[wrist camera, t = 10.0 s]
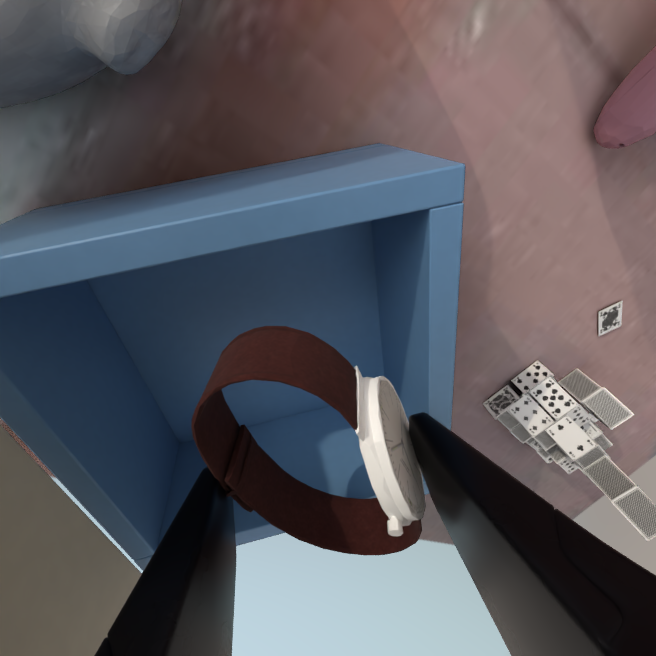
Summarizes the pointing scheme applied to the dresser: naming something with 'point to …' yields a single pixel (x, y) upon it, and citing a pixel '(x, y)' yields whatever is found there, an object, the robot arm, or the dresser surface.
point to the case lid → (53, 566)
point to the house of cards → (575, 428)
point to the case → (224, 322)
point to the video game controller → (630, 107)
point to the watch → (283, 489)
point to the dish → (76, 42)
